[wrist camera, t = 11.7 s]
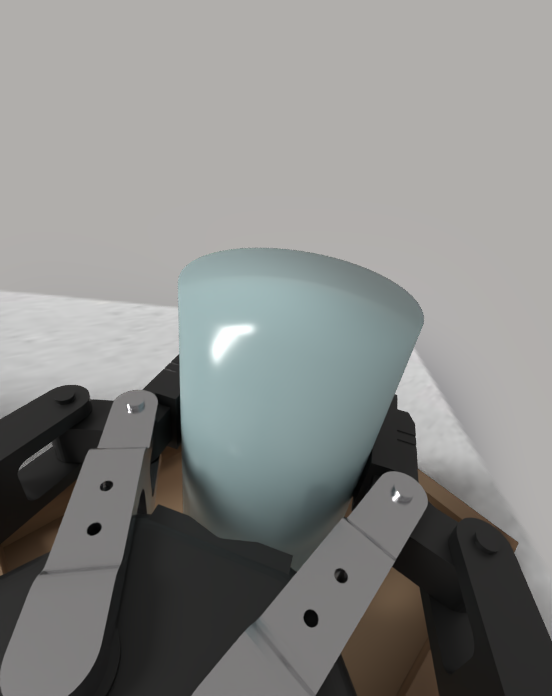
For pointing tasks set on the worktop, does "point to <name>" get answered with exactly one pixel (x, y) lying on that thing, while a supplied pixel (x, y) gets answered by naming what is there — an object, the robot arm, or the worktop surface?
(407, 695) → the tray
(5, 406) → the worktop surface
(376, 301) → the pale blue cylinder
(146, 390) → the robot arm
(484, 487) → the worktop surface
